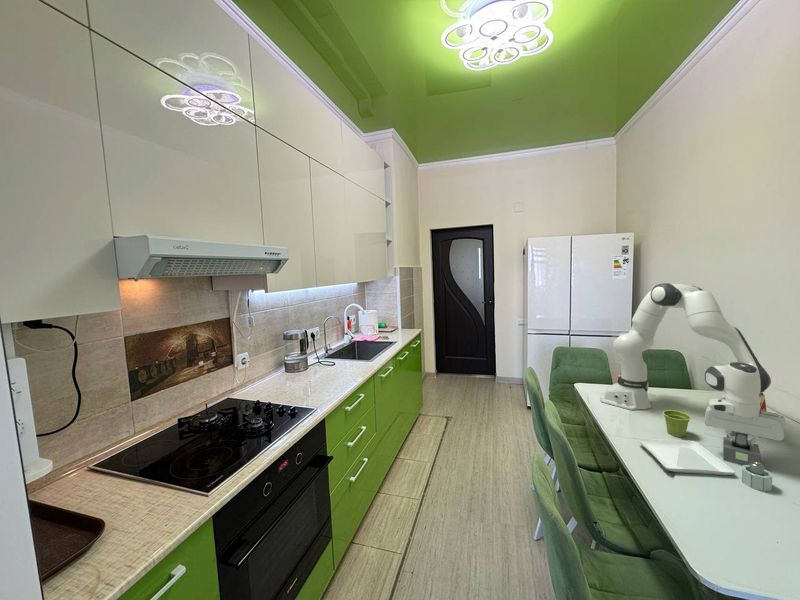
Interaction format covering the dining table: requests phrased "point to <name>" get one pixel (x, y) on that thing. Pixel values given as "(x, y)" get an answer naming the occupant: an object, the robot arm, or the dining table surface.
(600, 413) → the dining table surface
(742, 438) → the cell
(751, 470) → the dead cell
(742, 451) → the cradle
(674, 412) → the plant pot
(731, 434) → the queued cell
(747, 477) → the cup
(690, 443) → the salad plate
